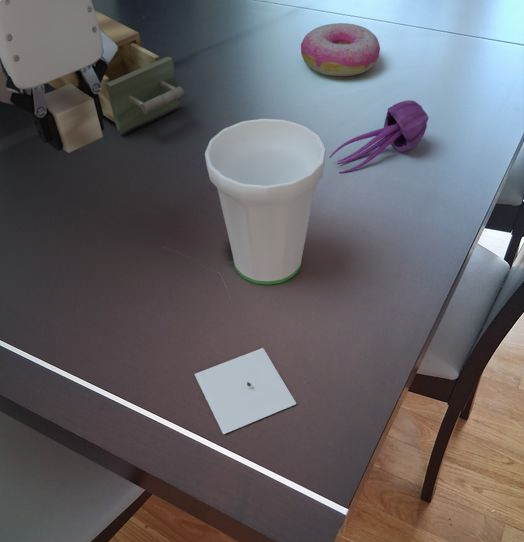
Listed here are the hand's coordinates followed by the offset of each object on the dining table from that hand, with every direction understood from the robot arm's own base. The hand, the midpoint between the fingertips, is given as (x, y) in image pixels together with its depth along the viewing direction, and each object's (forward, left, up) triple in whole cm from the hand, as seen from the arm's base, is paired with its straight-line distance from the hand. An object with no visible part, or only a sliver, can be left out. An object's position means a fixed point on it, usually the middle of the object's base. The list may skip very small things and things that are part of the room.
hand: (74, 133), depth 62 cm
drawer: (+21, +22, -14) cm, 33 cm away
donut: (+56, +9, -15) cm, 58 cm away
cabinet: (+21, +34, -15) cm, 43 cm away
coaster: (-3, -30, -15) cm, 34 cm away
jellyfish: (+39, -13, -15) cm, 43 cm away
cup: (+12, -18, -15) cm, 26 cm away
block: (0, 0, 0) cm, 0 cm away
